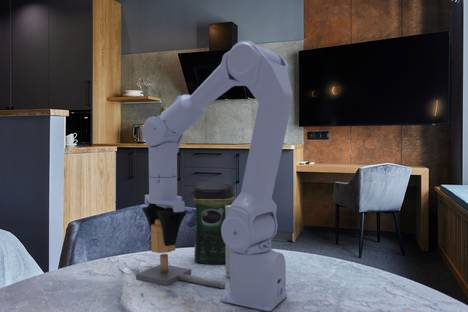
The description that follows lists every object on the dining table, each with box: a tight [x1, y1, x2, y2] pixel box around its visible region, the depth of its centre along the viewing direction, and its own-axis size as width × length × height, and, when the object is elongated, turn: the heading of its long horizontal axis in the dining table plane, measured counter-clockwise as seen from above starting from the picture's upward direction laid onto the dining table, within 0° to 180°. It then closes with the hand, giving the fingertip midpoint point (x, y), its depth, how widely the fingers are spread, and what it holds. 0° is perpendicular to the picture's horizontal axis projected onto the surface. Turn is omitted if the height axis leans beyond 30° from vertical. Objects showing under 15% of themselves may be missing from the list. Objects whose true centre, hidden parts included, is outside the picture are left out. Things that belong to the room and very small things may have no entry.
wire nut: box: [150, 219, 176, 254], centre depth 82 cm, size 5×5×6 cm
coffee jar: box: [192, 181, 235, 265], centre depth 93 cm, size 10×8×19 cm
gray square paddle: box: [135, 253, 226, 289], centre depth 79 cm, size 19×8×4 cm, turn 61°
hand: (163, 242), depth 82 cm, fingers closed on wire nut, 5 cm apart
